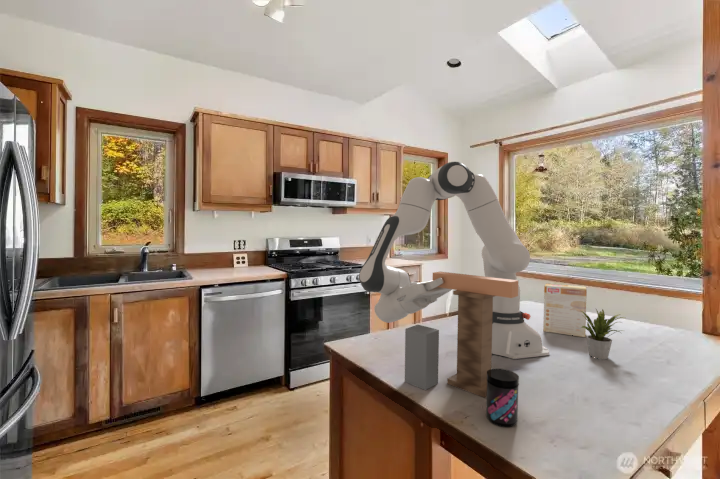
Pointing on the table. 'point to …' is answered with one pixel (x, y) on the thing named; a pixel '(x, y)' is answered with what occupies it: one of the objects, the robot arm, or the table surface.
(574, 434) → the table surface
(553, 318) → the coffeecake box
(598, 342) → the house plant
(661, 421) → the table surface
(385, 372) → the table surface
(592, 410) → the table surface
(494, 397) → the supplement container
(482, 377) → the walnut tower
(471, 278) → the terracotta beam
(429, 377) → the slate pillar
